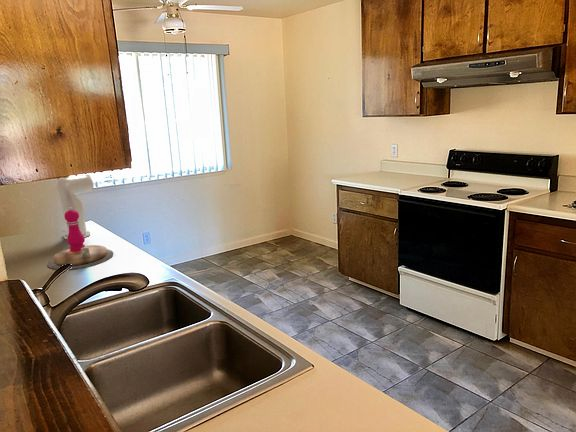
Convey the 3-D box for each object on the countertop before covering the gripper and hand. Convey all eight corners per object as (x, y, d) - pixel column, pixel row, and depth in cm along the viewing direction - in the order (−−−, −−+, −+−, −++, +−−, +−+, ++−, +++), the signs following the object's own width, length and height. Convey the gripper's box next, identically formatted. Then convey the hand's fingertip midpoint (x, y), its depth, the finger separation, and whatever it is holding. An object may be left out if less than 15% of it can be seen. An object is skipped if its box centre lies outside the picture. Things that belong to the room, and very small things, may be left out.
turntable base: (33, 266, 199) (33, 265, 199) (81, 247, 223) (81, 246, 223) (81, 272, 189) (80, 270, 189) (126, 251, 213) (125, 249, 213)
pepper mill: (89, 247, 213) (82, 204, 208) (80, 252, 206) (73, 208, 201) (74, 247, 213) (67, 205, 209) (65, 252, 206) (57, 209, 202)
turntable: (60, 269, 191) (57, 254, 190) (48, 257, 208) (46, 244, 206) (114, 256, 204) (111, 242, 203) (98, 246, 221) (96, 233, 219)
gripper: (60, 136, 209) (66, 173, 213) (101, 133, 216) (106, 169, 220) (61, 135, 216) (67, 172, 220) (100, 132, 222) (105, 168, 227)
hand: (86, 170), depth 220 cm, fingers open, 9 cm apart
